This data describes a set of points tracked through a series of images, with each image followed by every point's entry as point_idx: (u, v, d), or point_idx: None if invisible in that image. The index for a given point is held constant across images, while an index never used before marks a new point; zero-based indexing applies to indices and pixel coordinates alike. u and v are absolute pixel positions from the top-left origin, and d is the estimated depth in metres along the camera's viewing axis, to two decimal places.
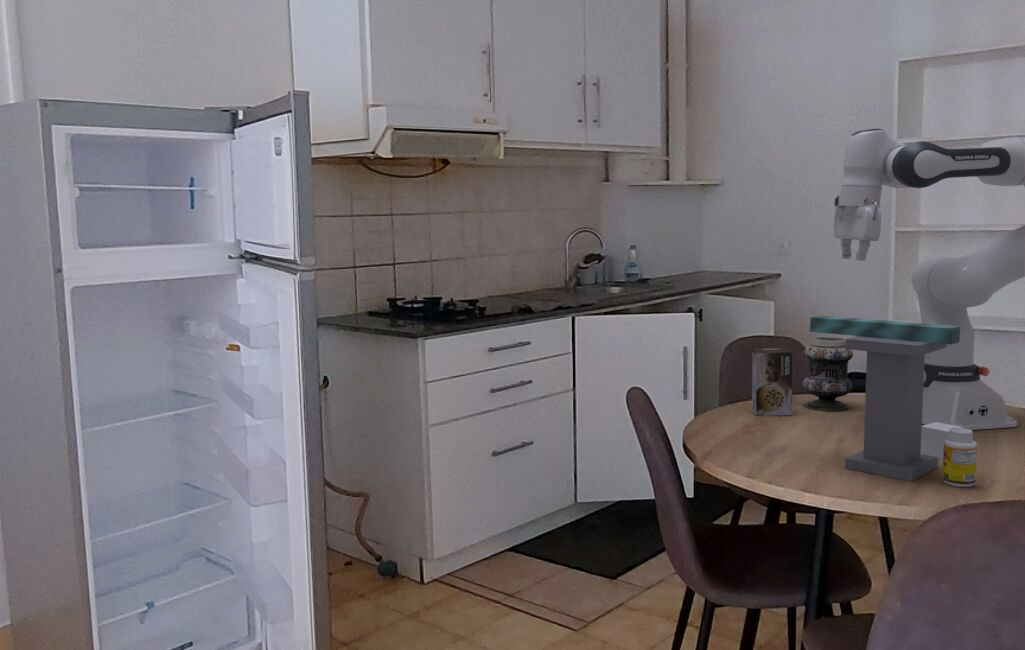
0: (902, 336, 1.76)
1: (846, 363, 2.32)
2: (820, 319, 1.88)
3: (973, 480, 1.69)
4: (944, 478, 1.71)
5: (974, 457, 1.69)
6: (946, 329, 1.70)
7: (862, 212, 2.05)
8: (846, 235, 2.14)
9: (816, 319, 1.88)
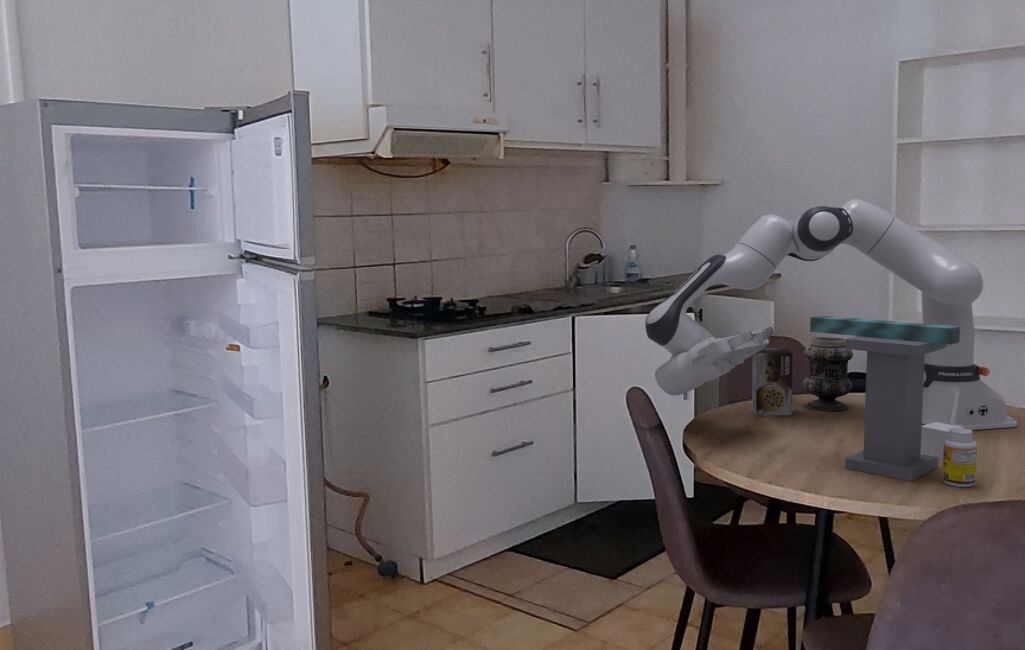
0: (902, 336, 1.76)
1: (846, 363, 2.32)
2: (820, 319, 1.88)
3: (973, 480, 1.69)
4: (944, 478, 1.71)
5: (974, 457, 1.69)
6: (946, 329, 1.70)
7: (708, 363, 2.01)
8: (748, 349, 2.04)
9: (816, 319, 1.88)
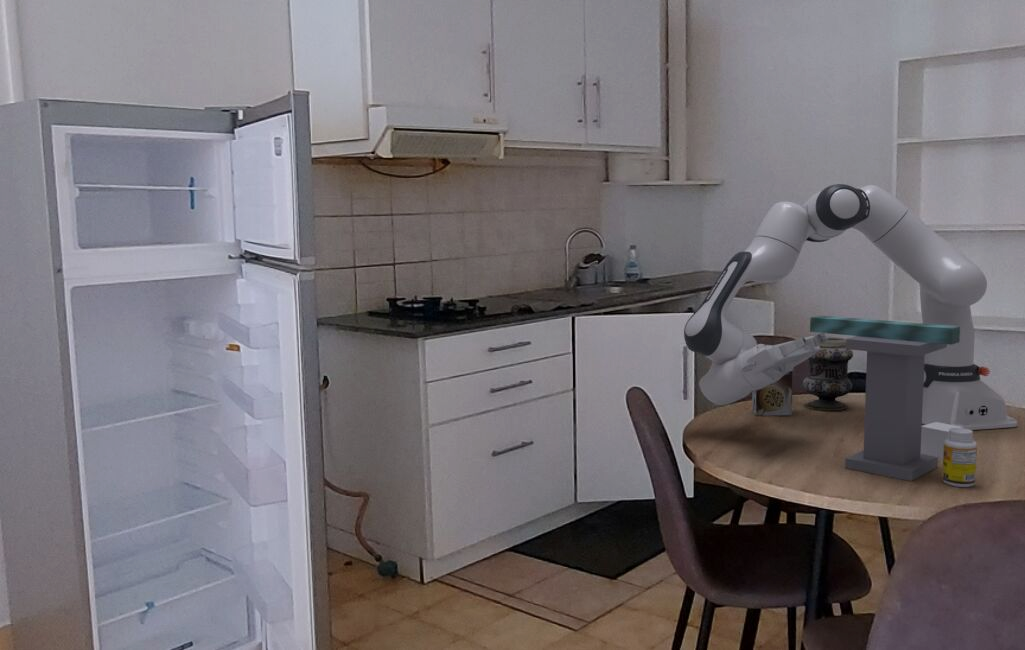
0: (902, 336, 1.76)
1: (846, 363, 2.32)
2: (820, 319, 1.88)
3: (973, 480, 1.69)
4: (944, 478, 1.71)
5: (974, 457, 1.69)
6: (946, 329, 1.70)
7: (759, 372, 1.93)
8: (800, 356, 1.95)
9: (816, 319, 1.88)
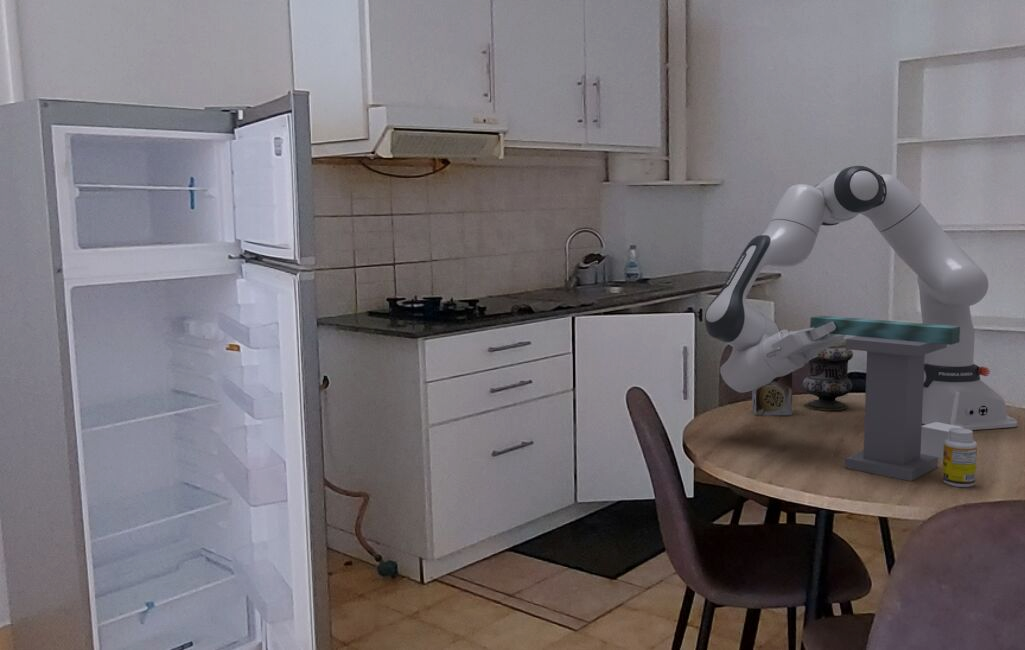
0: (902, 336, 1.76)
1: (846, 363, 2.32)
2: (820, 319, 1.88)
3: (973, 480, 1.69)
4: (944, 478, 1.71)
5: (974, 457, 1.69)
6: (946, 329, 1.70)
7: (784, 357, 1.88)
8: (825, 342, 1.91)
9: (816, 319, 1.88)
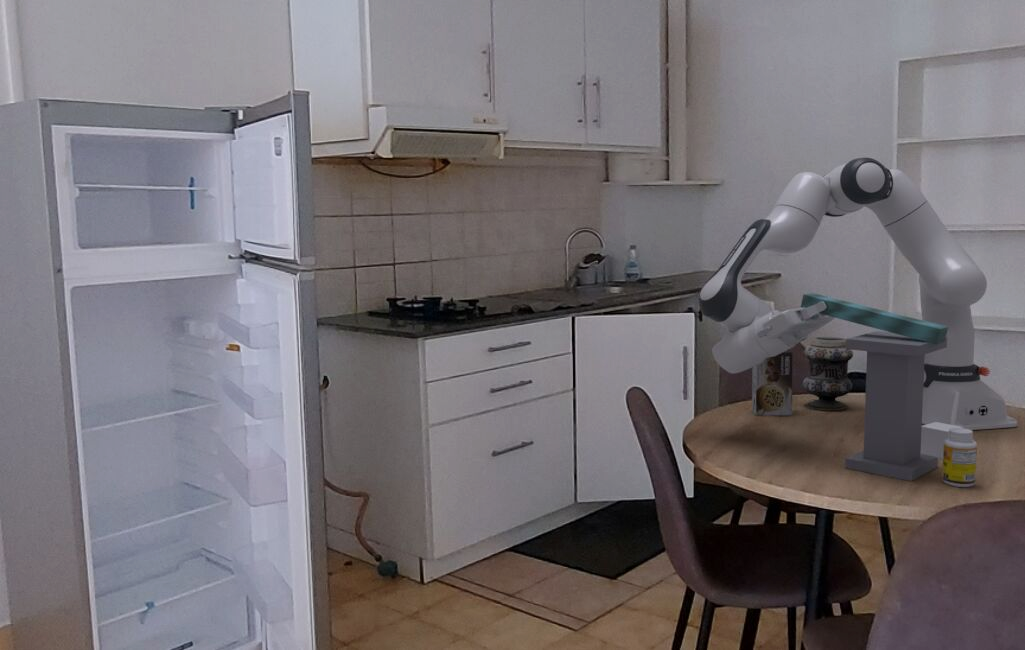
0: (889, 328, 1.78)
1: (846, 363, 2.32)
2: (812, 298, 1.88)
3: (973, 480, 1.69)
4: (944, 478, 1.71)
5: (974, 457, 1.69)
6: (934, 329, 1.72)
7: (775, 337, 1.89)
8: (816, 322, 1.92)
9: (808, 297, 1.89)
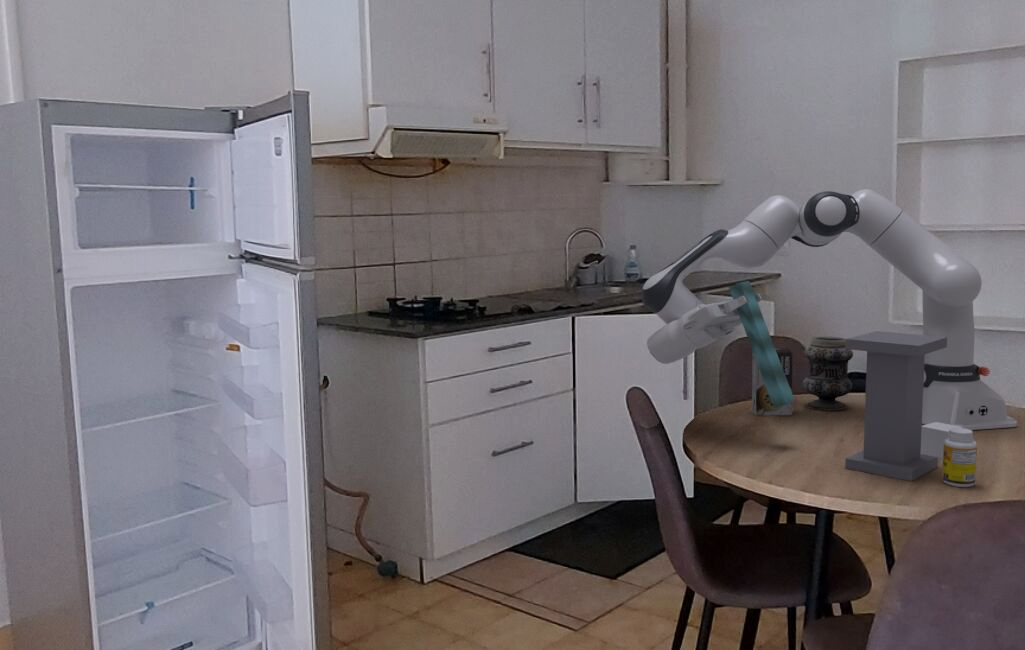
0: (761, 367, 1.98)
1: (846, 363, 2.32)
2: (742, 292, 2.00)
3: (973, 480, 1.69)
4: (944, 478, 1.71)
5: (974, 457, 1.69)
6: (783, 400, 1.96)
7: (699, 329, 2.02)
8: None
9: (740, 288, 2.00)
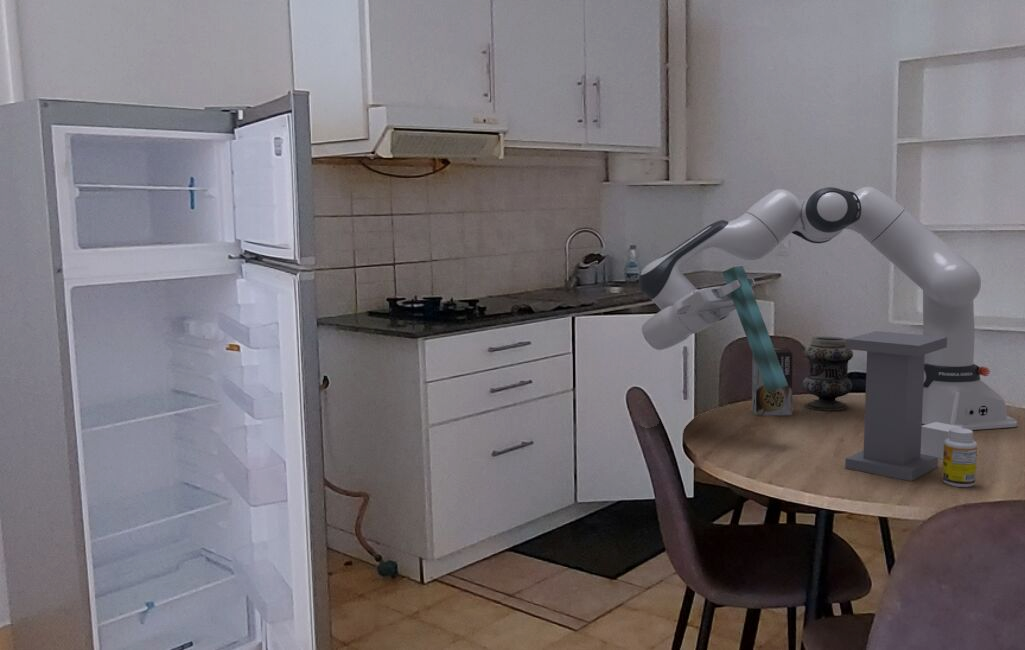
0: (754, 351, 1.99)
1: (846, 363, 2.32)
2: (735, 276, 2.01)
3: (973, 480, 1.69)
4: (944, 478, 1.71)
5: (974, 457, 1.69)
6: (776, 384, 1.96)
7: (693, 314, 2.03)
8: None
9: (734, 273, 2.01)
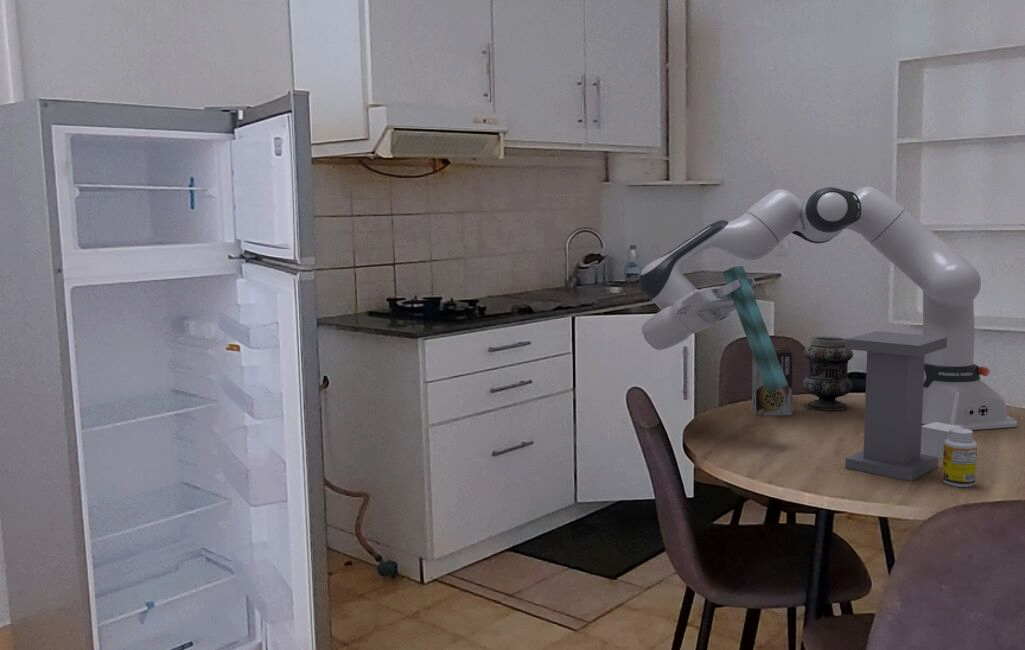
0: (754, 351, 1.99)
1: (846, 363, 2.32)
2: (735, 276, 2.01)
3: (973, 480, 1.69)
4: (944, 478, 1.71)
5: (974, 457, 1.69)
6: (776, 384, 1.96)
7: (693, 314, 2.03)
8: None
9: (734, 273, 2.01)
